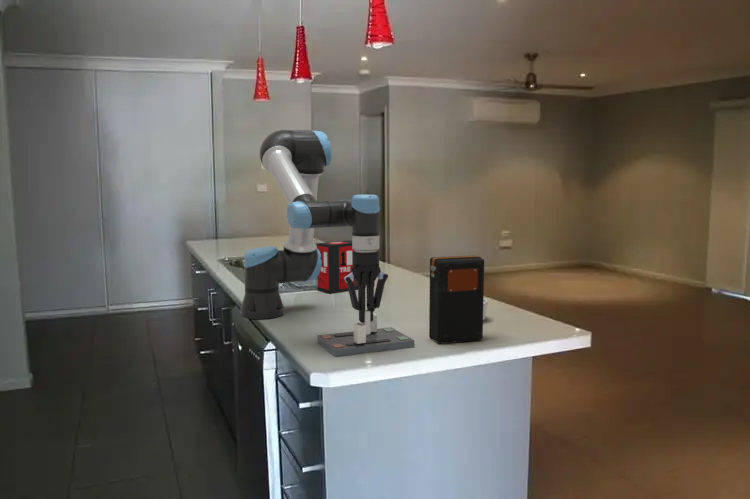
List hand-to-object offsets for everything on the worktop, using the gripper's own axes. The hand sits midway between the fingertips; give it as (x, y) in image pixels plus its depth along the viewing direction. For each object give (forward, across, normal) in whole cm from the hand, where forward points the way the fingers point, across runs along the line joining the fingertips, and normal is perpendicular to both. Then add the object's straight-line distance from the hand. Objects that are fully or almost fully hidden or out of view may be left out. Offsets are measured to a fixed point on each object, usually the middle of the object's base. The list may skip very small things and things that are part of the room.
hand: (366, 333), depth 179 cm
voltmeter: (+5, +29, -1) cm, 29 cm away
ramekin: (+5, +45, +19) cm, 49 cm away
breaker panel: (+5, +2, +5) cm, 7 cm away
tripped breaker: (+2, -2, 0) cm, 3 cm away
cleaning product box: (+5, +23, +85) cm, 88 cm away
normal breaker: (+2, +6, +10) cm, 12 cm away
